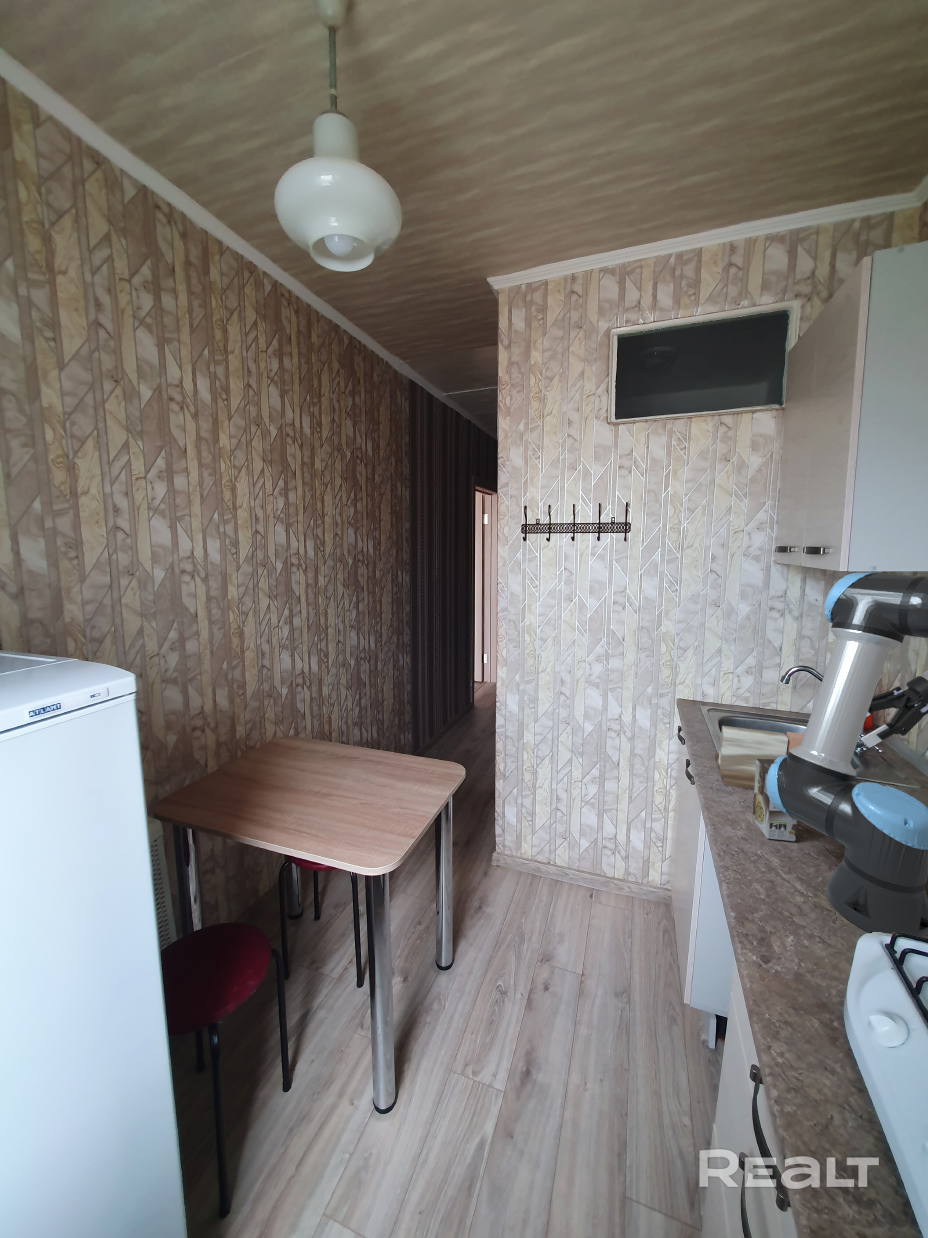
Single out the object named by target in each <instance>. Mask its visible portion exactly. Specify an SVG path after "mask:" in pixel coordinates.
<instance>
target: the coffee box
mask: <svg viewBox="0 0 928 1238" xmlns="http://www.w3.org/2000/svg"><path fill="white" fill-rule="evenodd" d="M775 760H776V759H756V771H755V787H754V790H753V792H754V793H753V809H752V819H753V821H754V822H755V824H756V825H757V826H758V828H759V829H760V830H761V832H762V833H763V834H764V836H765V837H766V839H768V840H770V839H771V840H778V841H779V840H781V841H789V842H796V840H797V829H798V828H797V827H798V820H797V819H793V818H791V817H790V816H788V815H787V814H786V813H784V812H783V811H781V810H779V809H778V808H776V807H775V806H774V805H773V804H772V803H771V801H770V799H769V796H768V794H767V790H766V779H767V774H768V771H769V768H770V766H771V765H772V764H774V761H775Z"/></svg>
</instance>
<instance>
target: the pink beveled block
mask: <svg viewBox="0 0 928 1238" xmlns="http://www.w3.org/2000/svg"><path fill="white" fill-rule="evenodd" d="M785 735H786V736H787V738H788V744H787V752H786V756H788V753H789V751H790V749H793V748H795V747H798V746H800V745H801V742H802V739H803V736H804V733H800V732H792V731H787V732H786V734H785Z"/></svg>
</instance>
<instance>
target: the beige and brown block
mask: <svg viewBox="0 0 928 1238" xmlns="http://www.w3.org/2000/svg"><path fill="white" fill-rule="evenodd" d="M786 735H787V734H785V732H777V731H770V730H769V731H768V730H762V729H753V728H745V727H738V726H735V727H734V726H726V725H721V733H720V742H719V743H720V744H719V752H714V759H715V762H716V765H717V769H718V773H719V774H720V778H721V781H722V785H723V784H724V785H723V786H727V785H728V787H733V786H735V787H734V788H740V789H748V790H752V791H754V787H755V771H756V759H777V758H778V757H780V756H786V752H787V744H788V738H787V736H786Z"/></svg>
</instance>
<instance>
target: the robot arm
mask: <svg viewBox="0 0 928 1238" xmlns="http://www.w3.org/2000/svg"><path fill="white" fill-rule="evenodd" d="M824 609H825V611H824V616H825V619H826V620H827V621H828V622H829V623H830V624H831V626H830V632H831V633H832V635H833V636H834V637H835V639H836V640H835V642H834V645H833V648H832V651H831V653H830V658H829V660H828V663H827V666H826V669H825V672H824V675H823V678H822V680H821V684H820V687H819V689H818V693H817V696H816V699H815V700H814V704H813V707H812V711H811V713H810V716H809V719H808V721H807V725H806V728H805V730H804V733H803V734H804V736H803V739H802V742H801V745H800V746H798V747H795V748H793V749H790V751H789V753H788V756H780V757H778V758H777V759H776V760H775V761H774V764H772V765H771V766H770V768H769V771H768V774H767V779H766V790H767V794H768V796H769V799H770V801H771V803H772V804H773V805H774V806H775V807H776V808H778V809H779V810H781V811H783V812H784V813H786V814H787V815H788V816H790V817H791V818H793V819H797V821H799V822H801V823H802V824H804V825H806V826H808V827H810V828H811V829H814V830H815V831H817V832H819V833H821V834H823V835H825V836H827V837H828V838H830V839H833V840H834V841H836V842H838V843H840V844H842V845H843V846H844V851H843V857H842V860H841V862H840V863H839V864H838V865H837V867H836V868H835V869H834V871H833V872H832V874H831V875H830V877H828V880H827V883H826V884H827V885H826V891H825V892H826V898H827V901H829V903H830V905H831V906H832V907H833V908H834V909H835V910H836V912H838V914H840V915H841V916H842V917H843V918H845V919H847V921H849V922H850V923H852V924H853V925H855V926H856V927H858V928H860V929H861V930H864V931H865V932H867V933H870V932H883V933H893V932H903V933H907V934H911V935H915V936H918V937H922V938H925V937H924V936H926V937H927V936H928V897H927V893H926V888H927V887H926V886H927V883H928V806H926V805H925V804H924V803H923V802H921V801H920V800H919V799H918V798H915V797H913V796H912V795H910V794H908V793H906V792H904V791H902V790H899V789H898V788H895V787H892V786H889V785H885V786H884V785H881V784H880V783H878V782H877V783H875V782H868V781H866V782H860V783H857V784H855V780H856V778H857V772H856V771H855V769H854V767H853V765H852V763H851V762H852V759H853V756H854V753H855V749H856V748H857V744H858V741H859V738H860V740H861V741H862V742H863V744H865V745H866V746H867V747H868V748H869V749H870V748H872V747H874V746H876V745H877V744H879V743H880V742H882V741H884V740H886V739H888V738H890V737H892V736H893V735H900V736H902V737H904V736H906V735H907V734H908V733H909V732H910V731H911V730H912V729H913V728H914V727H915V726H916V725H917V724H918V723H919V722H920V721H921V720H922V719H923V718H924V717H925V716H926V715H928V669H927V670H925V671H924V672H922V673H921V674H922V676H921V675H917V676H916V677H913V679H911V680H909V681H907V682H906V687H907V689H905V690H904V689H903V688H901V686H896V687H894V688H892V689H890V690H888V691H884V692H882V693H879V694H876V695H875V692H876V689H877V686H878V683H879V681H880V678H881V676H882V675H881V674H882V672H883V669H884V666H885V664H886V660H887V657H888V655H889V653H890V652H891V651H892V650H894V649H897V648H899V647H901V646H903V645H902V644H903V642H904V639H905V637H906V636H908V637H914V638H915V637H916V638H921V639H922V638H923V639H928V576H923V575H922V576H921V575H911V574H909V575H908V574H900V573H899V574H898V573H897V574H896V573H884V572H876V571H874V572H853V573H848V574H846V575H845V576H844V577H842V578H840V579H838V581H836V582H835V583H834V585H832V587H831V589H830V590H829V592H828V593H827V596H826V599H825V602H824ZM889 709H896V710H897V709H898V710H897V711H896V713H895V714H894V716H893V717H892V719H891V720H890V722H887V723H885V724H883V725H881V726H880V727H878V728H876V729H875V730H873V731H871V732H869V733H868V734H866V735H864V736H862V737H860V736H861V733H862V729H863V726H864V723H865V721H866V719H867V717H869V716H870V715H873V714H874V712H878V711H884V710H889Z"/></svg>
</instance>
